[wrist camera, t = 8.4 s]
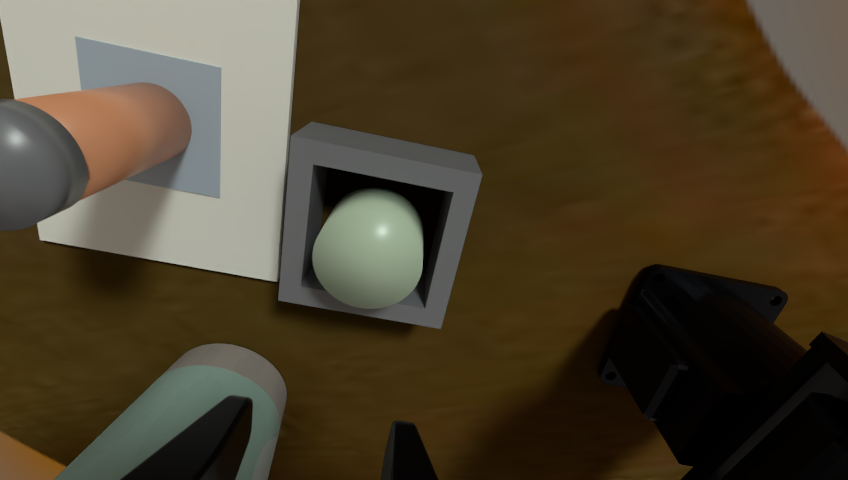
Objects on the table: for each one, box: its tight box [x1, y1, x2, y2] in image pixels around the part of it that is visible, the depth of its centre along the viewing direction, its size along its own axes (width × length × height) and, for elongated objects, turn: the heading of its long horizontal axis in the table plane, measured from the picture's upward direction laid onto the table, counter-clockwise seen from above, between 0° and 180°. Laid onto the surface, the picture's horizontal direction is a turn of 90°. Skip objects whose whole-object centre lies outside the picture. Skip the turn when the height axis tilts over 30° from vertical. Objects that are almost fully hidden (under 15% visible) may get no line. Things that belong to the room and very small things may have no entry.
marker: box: [0, 82, 192, 231], centre depth 13 cm, size 3×3×7 cm
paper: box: [0, 0, 300, 282], centre depth 16 cm, size 10×12×1 cm
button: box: [312, 187, 423, 309], centre depth 15 cm, size 4×4×2 cm
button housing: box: [278, 122, 482, 329], centre depth 17 cm, size 6×6×3 cm
